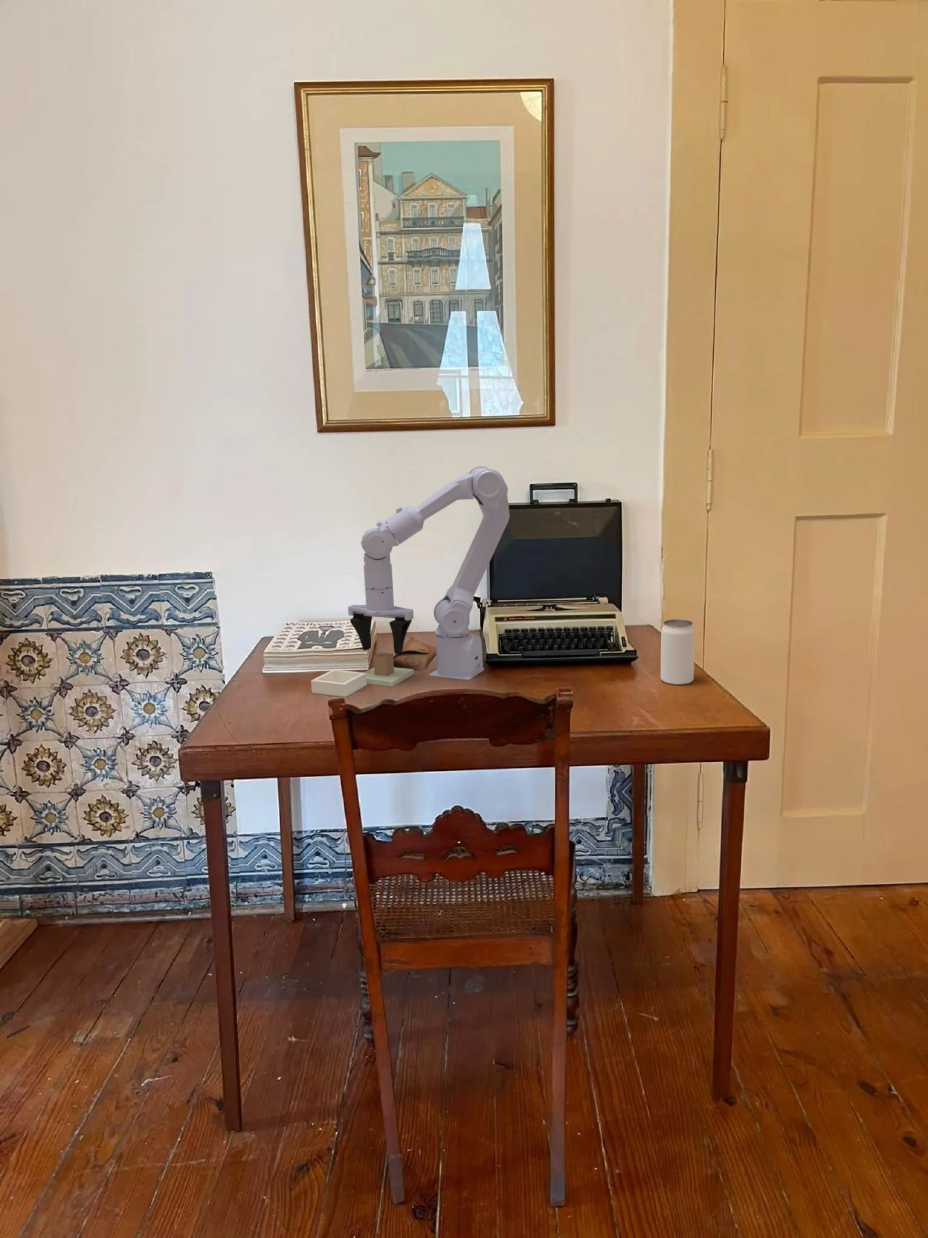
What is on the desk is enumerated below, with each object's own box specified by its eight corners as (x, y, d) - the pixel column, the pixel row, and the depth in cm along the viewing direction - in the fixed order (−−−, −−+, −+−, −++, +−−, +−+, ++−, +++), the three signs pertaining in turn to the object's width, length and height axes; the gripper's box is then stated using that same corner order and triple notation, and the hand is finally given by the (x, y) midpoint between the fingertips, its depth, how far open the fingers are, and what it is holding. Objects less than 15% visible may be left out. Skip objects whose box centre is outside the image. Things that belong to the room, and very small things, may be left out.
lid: (413, 673, 185) (412, 651, 184) (392, 686, 177) (391, 662, 176) (377, 670, 189) (376, 647, 188) (355, 682, 181) (353, 659, 180)
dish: (367, 687, 179) (366, 673, 178) (345, 699, 172) (344, 684, 171) (334, 683, 182) (333, 669, 182) (312, 694, 175) (310, 680, 175)
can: (696, 677, 177) (697, 620, 174) (690, 687, 171) (691, 627, 168) (664, 674, 179) (665, 617, 177) (657, 683, 174) (658, 625, 171)
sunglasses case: (427, 672, 187) (410, 646, 186) (400, 688, 189) (383, 662, 188) (443, 649, 204) (427, 626, 203) (418, 664, 206) (403, 641, 205)
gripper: (338, 588, 178) (342, 652, 181) (400, 593, 172) (403, 659, 175) (357, 582, 184) (360, 644, 188) (417, 586, 178) (420, 650, 181)
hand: (382, 650), depth 182 cm, fingers open, 7 cm apart
